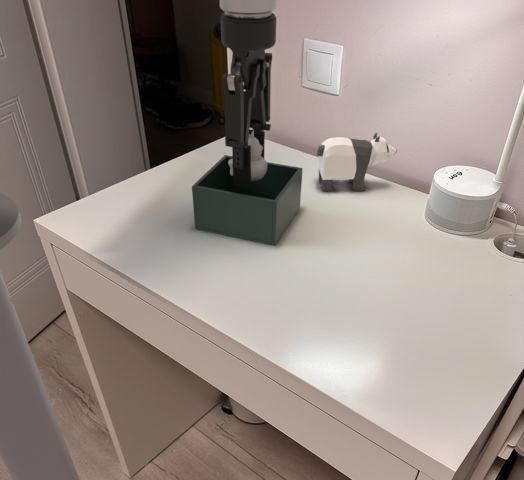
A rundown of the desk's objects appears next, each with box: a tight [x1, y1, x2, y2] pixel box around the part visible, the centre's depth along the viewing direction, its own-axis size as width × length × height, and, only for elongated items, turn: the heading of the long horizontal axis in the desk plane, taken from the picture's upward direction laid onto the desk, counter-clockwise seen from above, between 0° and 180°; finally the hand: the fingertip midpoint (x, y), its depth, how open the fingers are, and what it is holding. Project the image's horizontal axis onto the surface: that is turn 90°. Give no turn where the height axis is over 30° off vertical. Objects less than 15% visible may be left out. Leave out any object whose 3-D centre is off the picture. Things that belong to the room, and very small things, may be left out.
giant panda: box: [316, 132, 398, 192], centre depth 99 cm, size 15×6×10 cm, turn 95°
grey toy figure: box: [228, 130, 268, 182], centre depth 84 cm, size 5×7×8 cm
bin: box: [191, 154, 304, 246], centre depth 89 cm, size 14×13×8 cm
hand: (248, 178), depth 87 cm, fingers closed on grey toy figure, 5 cm apart
